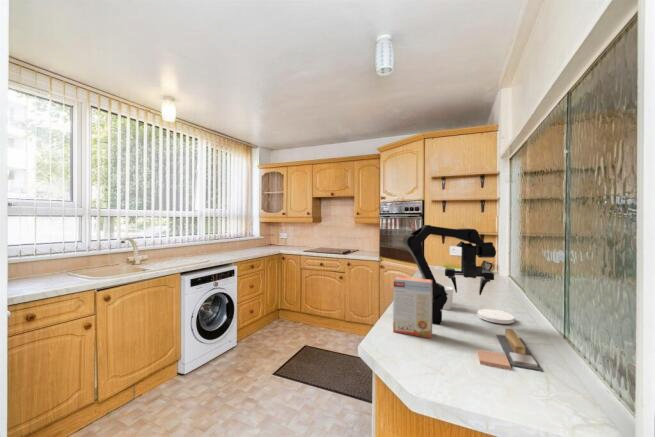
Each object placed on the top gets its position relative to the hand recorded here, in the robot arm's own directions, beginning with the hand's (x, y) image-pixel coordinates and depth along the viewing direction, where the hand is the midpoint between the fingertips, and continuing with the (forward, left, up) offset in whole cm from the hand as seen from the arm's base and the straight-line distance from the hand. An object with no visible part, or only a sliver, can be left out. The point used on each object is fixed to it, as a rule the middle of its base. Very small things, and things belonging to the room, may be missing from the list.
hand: (467, 293), depth 124 cm
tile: (+4, -35, -12) cm, 37 cm away
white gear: (+12, +8, -13) cm, 19 cm away
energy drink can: (-19, +24, -12) cm, 33 cm away
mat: (+13, -24, -12) cm, 30 cm away
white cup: (-9, +16, -12) cm, 22 cm away
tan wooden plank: (+13, -23, -12) cm, 29 cm away
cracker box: (-21, -22, -12) cm, 33 cm away
